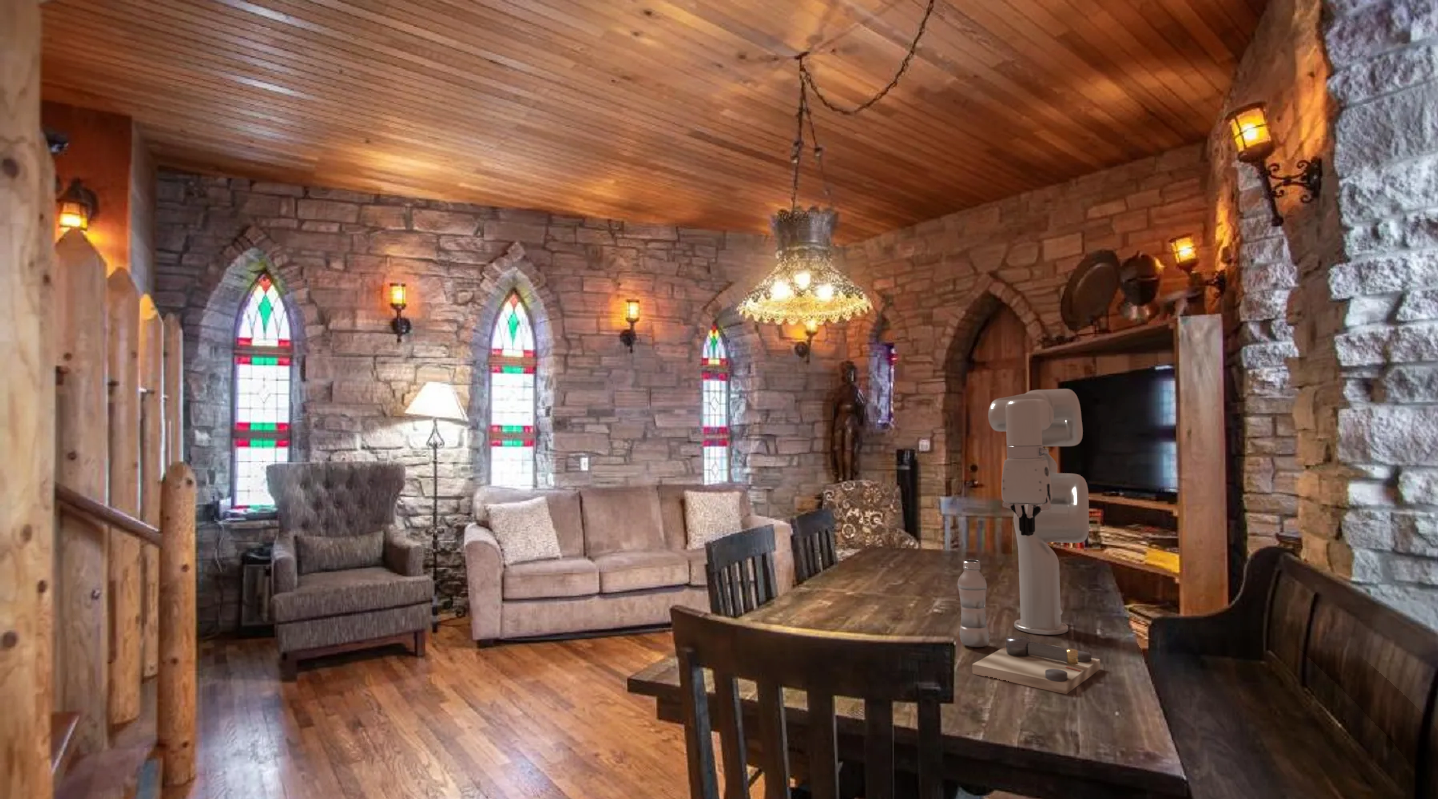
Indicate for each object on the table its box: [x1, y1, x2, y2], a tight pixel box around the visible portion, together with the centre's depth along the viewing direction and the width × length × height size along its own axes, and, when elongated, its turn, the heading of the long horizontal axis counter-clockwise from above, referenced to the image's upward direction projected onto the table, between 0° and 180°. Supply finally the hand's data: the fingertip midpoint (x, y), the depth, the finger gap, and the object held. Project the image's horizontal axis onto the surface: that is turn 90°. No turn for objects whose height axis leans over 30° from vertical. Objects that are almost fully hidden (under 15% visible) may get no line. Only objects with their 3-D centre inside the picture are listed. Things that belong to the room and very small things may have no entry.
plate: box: [971, 644, 1101, 695], centre depth 161 cm, size 20×19×3 cm
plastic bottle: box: [957, 559, 990, 648], centre depth 181 cm, size 6×7×20 cm
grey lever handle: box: [1005, 635, 1079, 664], centre depth 163 cm, size 15×5×3 cm, turn 44°
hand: (1027, 534), depth 173 cm, fingers closed
